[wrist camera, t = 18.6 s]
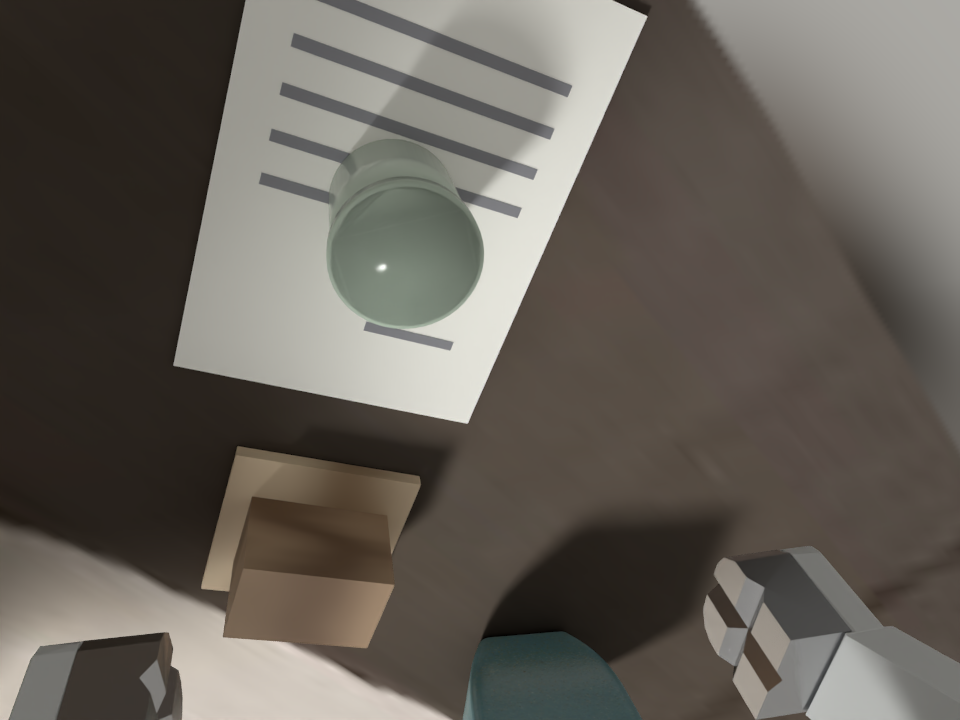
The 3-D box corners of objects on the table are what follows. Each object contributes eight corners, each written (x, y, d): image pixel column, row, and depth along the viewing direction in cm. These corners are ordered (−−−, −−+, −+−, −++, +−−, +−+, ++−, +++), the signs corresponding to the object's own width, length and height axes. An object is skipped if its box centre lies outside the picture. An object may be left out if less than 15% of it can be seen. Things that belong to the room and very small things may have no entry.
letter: (174, 361, 27) (173, 365, 26) (276, -151, 19) (275, -152, 19) (466, 419, 31) (467, 424, 31) (644, 14, 23) (647, 16, 23)
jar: (301, 223, 25) (297, 286, 20) (369, 108, 23) (379, 151, 19) (412, 283, 27) (429, 351, 22) (482, 181, 25) (514, 234, 21)
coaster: (202, 578, 33) (201, 588, 32) (237, 446, 29) (236, 455, 29) (369, 595, 36) (369, 605, 35) (419, 476, 32) (420, 484, 32)
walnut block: (233, 561, 32) (222, 637, 29) (252, 496, 30) (243, 568, 27) (362, 576, 34) (366, 648, 31) (387, 515, 32) (394, 584, 29)
